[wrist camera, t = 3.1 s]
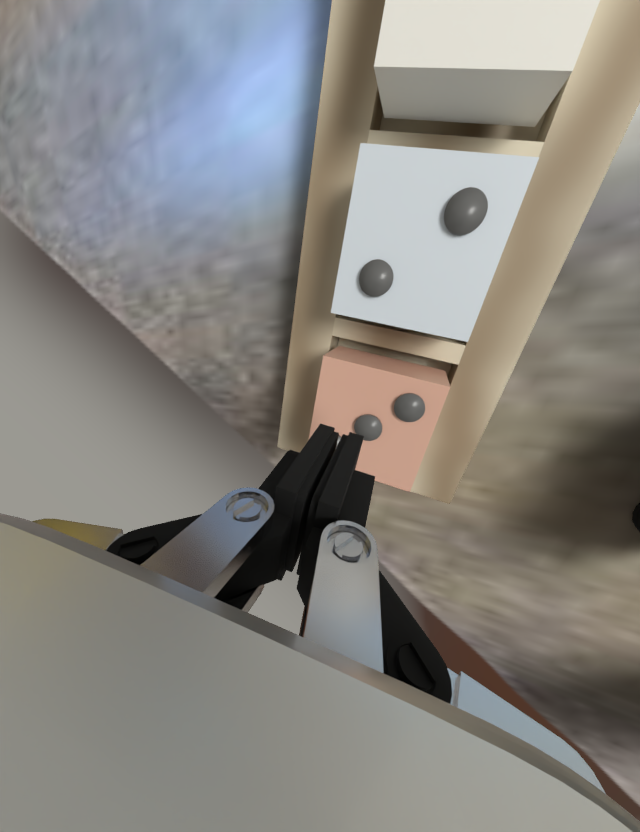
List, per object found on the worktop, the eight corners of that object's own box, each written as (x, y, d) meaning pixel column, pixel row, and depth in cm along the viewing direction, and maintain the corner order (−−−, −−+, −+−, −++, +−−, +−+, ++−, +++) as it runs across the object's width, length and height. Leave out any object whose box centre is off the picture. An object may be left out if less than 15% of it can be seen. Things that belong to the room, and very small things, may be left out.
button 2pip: (511, 189, 12) (541, 154, 9) (458, 333, 15) (468, 342, 12) (372, 175, 13) (359, 140, 10) (346, 309, 16) (329, 313, 13)
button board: (718, -138, 10) (829, -299, 7) (445, 477, 21) (449, 504, 18) (371, -101, 12) (357, -211, 10) (293, 430, 23) (277, 447, 21)
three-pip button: (445, 370, 16) (450, 388, 13) (411, 461, 18) (409, 494, 15) (339, 345, 17) (322, 356, 14) (321, 433, 19) (304, 459, 16)
